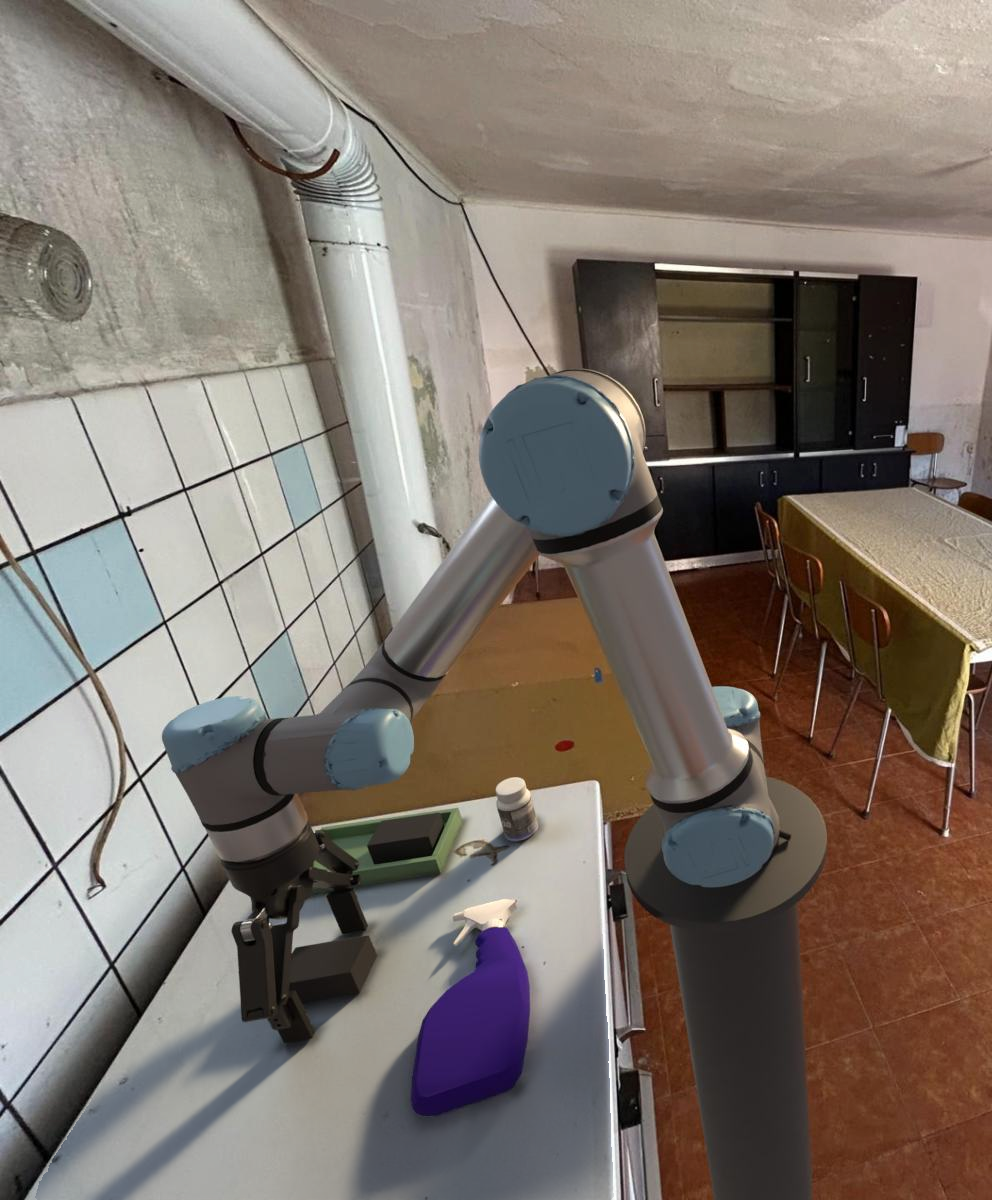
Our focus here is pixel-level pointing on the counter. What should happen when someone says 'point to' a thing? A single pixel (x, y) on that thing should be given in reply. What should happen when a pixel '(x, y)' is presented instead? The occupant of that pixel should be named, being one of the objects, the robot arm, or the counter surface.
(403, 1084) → the counter surface
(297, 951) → the dark brown rectangular block
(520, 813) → the pill bottle
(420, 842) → the pad
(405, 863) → the tray
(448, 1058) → the spray bottle
